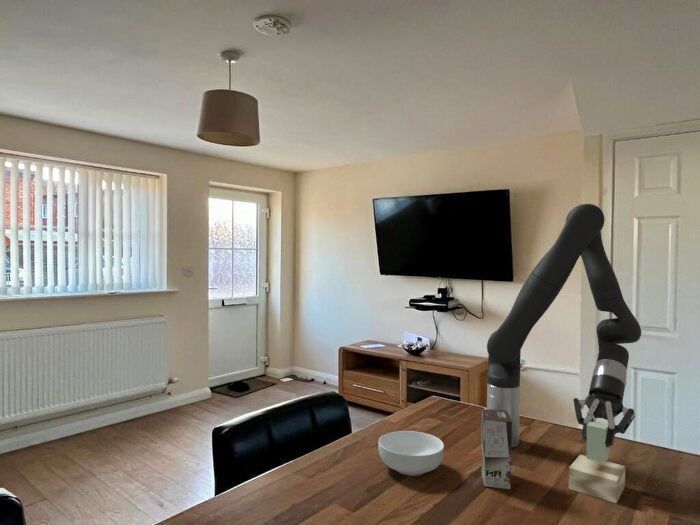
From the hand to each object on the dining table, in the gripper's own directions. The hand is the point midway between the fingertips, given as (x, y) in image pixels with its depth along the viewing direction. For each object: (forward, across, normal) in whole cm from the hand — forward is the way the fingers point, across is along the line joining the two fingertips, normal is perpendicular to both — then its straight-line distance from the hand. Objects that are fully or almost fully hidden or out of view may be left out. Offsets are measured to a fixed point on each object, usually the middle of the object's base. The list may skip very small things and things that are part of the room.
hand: (596, 442), depth 109 cm
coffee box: (+16, -20, 0) cm, 25 cm away
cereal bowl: (+22, -39, -6) cm, 45 cm away
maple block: (+7, 0, +9) cm, 11 cm away
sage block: (+2, 0, +4) cm, 4 cm away
